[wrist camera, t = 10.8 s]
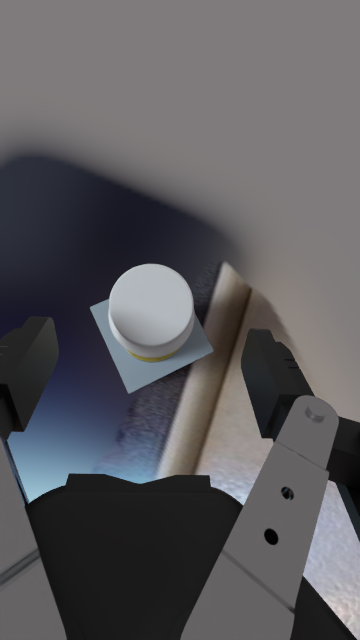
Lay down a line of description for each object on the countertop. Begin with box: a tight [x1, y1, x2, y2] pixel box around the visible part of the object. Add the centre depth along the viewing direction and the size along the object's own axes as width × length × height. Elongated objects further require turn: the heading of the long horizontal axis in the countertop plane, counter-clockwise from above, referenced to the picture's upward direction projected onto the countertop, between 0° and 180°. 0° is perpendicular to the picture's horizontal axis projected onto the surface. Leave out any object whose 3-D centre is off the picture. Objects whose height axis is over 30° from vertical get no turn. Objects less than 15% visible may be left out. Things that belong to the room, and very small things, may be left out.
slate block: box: [90, 299, 214, 393], centre depth 25 cm, size 7×7×7 cm
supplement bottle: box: [108, 264, 195, 363], centre depth 18 cm, size 5×5×8 cm
